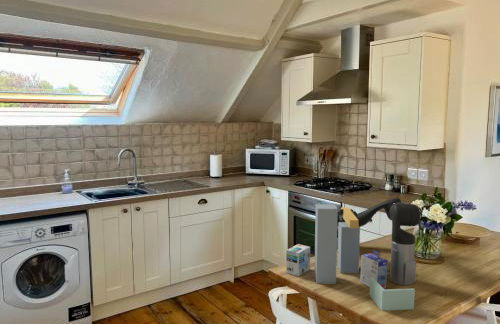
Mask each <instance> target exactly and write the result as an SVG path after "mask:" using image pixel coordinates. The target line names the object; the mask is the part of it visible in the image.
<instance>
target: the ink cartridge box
mask: <svg viewBox="0 0 500 324" xmlns="http://www.w3.org/2000/svg"><path fill="white" fill-rule="evenodd" d="M375 253H377V254H375ZM360 260H361V262H360V276H359V277H360V280H359V283H361V284H363V285H365V286H368V287H369V288H370V277H373V278H374V279H375V280H376V281H377V282H378V283H379V284H380V285H381V287H382V288H383V289H384V290H387V279H388V278H387V277H388V274H387V273H388V259H386V258H383V257H381V252H380V251H378V250H376V249H373V251H372V253H371V252H370V253H364V254H362V255H361V259H360Z"/></svg>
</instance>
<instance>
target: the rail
mask: <svg viewBox="0 0 500 324" xmlns="http://www.w3.org/2000/svg"><path fill="white" fill-rule="evenodd" d="M341 209H343V215H342V217H343V219H344V220H345V222H346V223H347V225H348V226H349V228H358V219H357V218H356V216H355V215H354V214H353V213H352V211H351V210H350V209H351V208H350V207H348V206H346V207H345V206H344V207H341V208H340V210H341Z"/></svg>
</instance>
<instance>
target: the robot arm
mask: <svg viewBox="0 0 500 324" xmlns="http://www.w3.org/2000/svg"><path fill="white" fill-rule="evenodd" d="M393 203H395V204H393ZM349 209H350V210H351V211H352V213H353V214H354V215H355V216H356V218H357V219H358V225H359V227H360V228H361V227H363V226H366V225H367V224H368V223H369V222H370V221H371V220H372V218H374V216H375V215H376V214H377V213H378V212H379V211H381V210H383V209H384V212H385V214H386V217H387V218H388V220H390V221H391V242H390V243H391V245H390V246H391V247H390V272H389V275H390V277H389V280H390V281H391V282H393V283H394V284H398V285H401V286H404V287H405V286H409V285H412V284H416V275H417V274H416V273H417V261H416V260H415V252H416V251H415V250H416V237H415V235H414V234H413V233H412V232H409V231H406V230H404V229H402V228H401V227H416V226H418V225H419V223H420V222H421V218H422V214H421V210H420V207H419V206H418V205H417V204H414V203H404V202H402V201H401V198H399V197H393V198H389V199H387V200H384V201H382V202H380V203H378V204H376V205H374V206H370V207H369V208H368V209H365V210H363V211H361V212H358V213H357V211H355V210H354V209H352V208H349ZM342 215H343V209H341V208H340V210H338V212H337V239H338V225H339V222H345V220H344V219H343V217H342Z"/></svg>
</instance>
